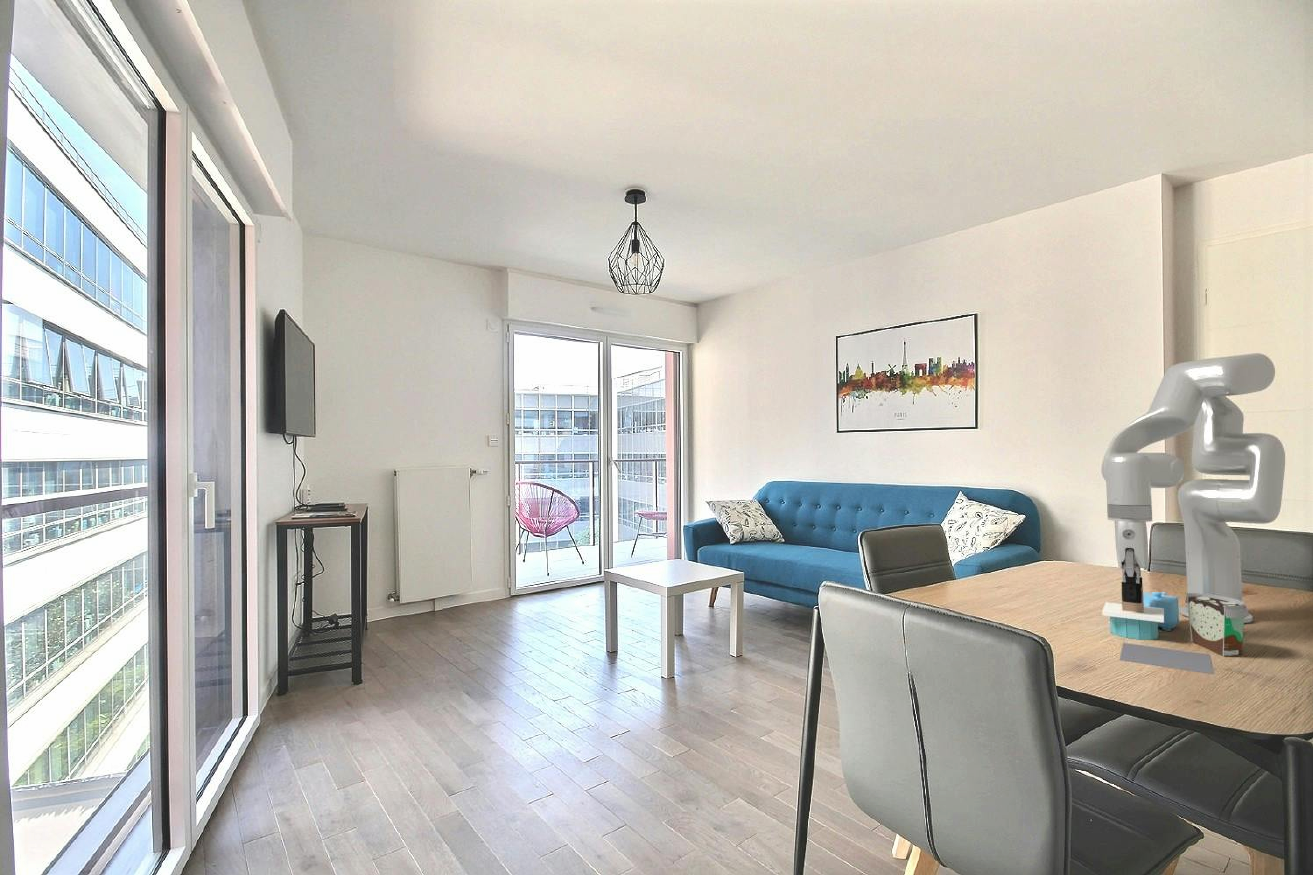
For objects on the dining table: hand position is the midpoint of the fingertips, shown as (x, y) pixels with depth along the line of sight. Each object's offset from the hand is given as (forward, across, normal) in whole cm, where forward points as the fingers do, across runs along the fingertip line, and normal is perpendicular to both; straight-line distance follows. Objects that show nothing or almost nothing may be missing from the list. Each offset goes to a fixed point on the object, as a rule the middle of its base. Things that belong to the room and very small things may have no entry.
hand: (1132, 598), depth 132 cm
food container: (+8, -3, -14) cm, 16 cm away
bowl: (+8, 0, 0) cm, 8 cm away
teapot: (+8, +13, -4) cm, 16 cm away
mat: (+8, -15, -5) cm, 18 cm away
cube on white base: (+3, 0, 0) cm, 3 cm away
